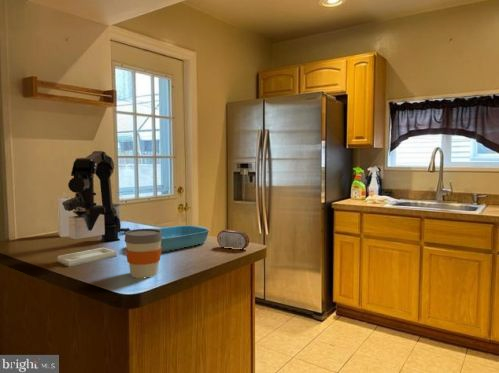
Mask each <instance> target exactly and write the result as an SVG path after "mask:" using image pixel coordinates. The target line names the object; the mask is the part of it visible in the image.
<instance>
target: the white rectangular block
mask: <svg viewBox="0 0 499 373" xmlns="http://www.w3.org/2000/svg"><path fill="white" fill-rule="evenodd" d="M68 220H69V237H68V238H70V239H74V240H78V239H83V238H84V239H85V238H90V237H92V238H93V237H98V236H102V235H104V234H105V227H104V215H103V214H100V215H99V217H98V218H97V220H96V222H95V224H94V227H93V229H92V230H91V231H89V229H88V224H87V218H86V217H85V216H84V215H80V216H77V215H73V216H72V217H68Z"/></svg>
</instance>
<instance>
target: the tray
mask: <svg viewBox="0 0 499 373" xmlns="http://www.w3.org/2000/svg"><path fill="white" fill-rule="evenodd" d="M113 258H117V250H113V249H110V248H107V247H98V248H94V249H88V250H82V251H77V252H71V253H67V254H61V255H57V263H59V264H60V263H61V264H62V265H64V266H67V267H68V268H71V267H74V266H79V265H84V264H88V263H93V262H98V261H103V260H107V259H113Z"/></svg>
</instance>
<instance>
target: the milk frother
mask: <svg viewBox="0 0 499 373" xmlns="http://www.w3.org/2000/svg"><path fill="white" fill-rule="evenodd" d="M121 205H122V204H121V203H113V207H114V209H115V210H116V211H117V216H118V217H119V219H120V220H121ZM130 230H131V228H129V227H125V228H122V227H120V228H118V233H121V232H122V233H123V232H124V233H126V232H127V231H130Z"/></svg>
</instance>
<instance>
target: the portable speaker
mask: <svg viewBox="0 0 499 373" xmlns="http://www.w3.org/2000/svg"><path fill="white" fill-rule="evenodd" d="M217 243H218V245H219V246H220V247H221V246H222V247H221V248H223V247H233V248H242V249H243V250H245V249H246V248H248V247H249V244H250V238H249V235H248V234H247V233H246V232H244V231H242V230H235V229H227V228H226V229H222V230H221V231H220V232H219V233H218V234H217ZM244 248H245V249H244Z"/></svg>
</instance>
